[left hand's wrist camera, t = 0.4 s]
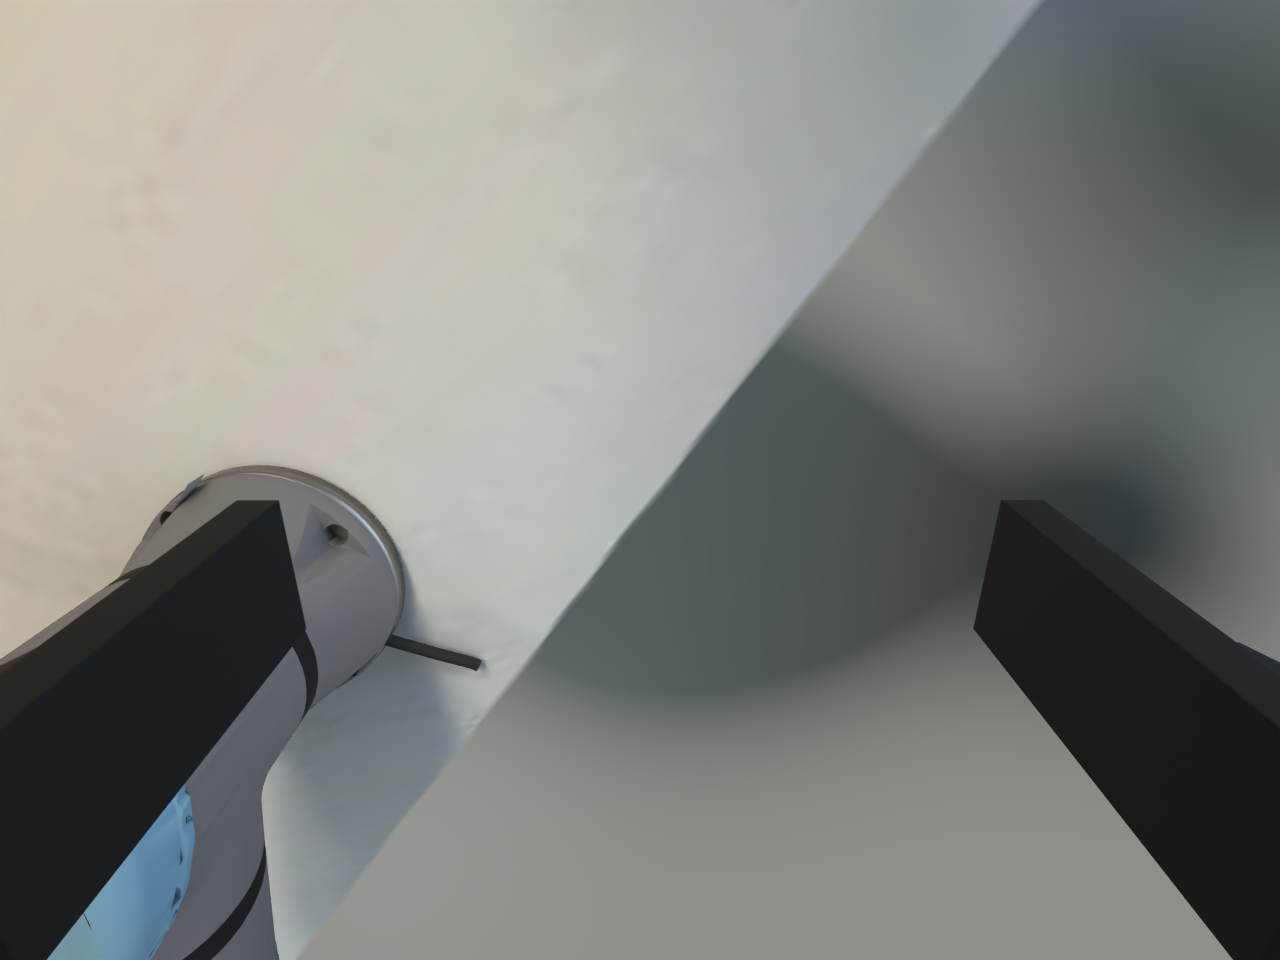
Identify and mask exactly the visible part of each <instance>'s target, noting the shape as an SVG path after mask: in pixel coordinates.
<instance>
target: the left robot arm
mask: <svg viewBox="0 0 1280 960" xmlns="http://www.w3.org/2000/svg"><path fill="white" fill-rule="evenodd" d="M306 629H307V628H306V624H305V619H304V614H303V610H302V605H301V600H300V596H299V591H298V587H297V582H296V577H295V573H294V568H293V563H292V559H291V554H290V549H289V545H288V540H287V535H286V531H285V526H284V522H283V517H282V512H281V508H280V503H279V500H236V501H235V502H234V503H232V504H231V505H230V506H228V507H227V508H225V509H224V510H223V511H221V512H220V513H219V514H217V515H216V516H215V517H213V518H212V519H211V520H209V521H208V522H206V523H205V524H204V525H202V526H201V527H200V528H198V529H197V530H196V531H194V532H193V533H192V534H190V535H189V536H187V537H186V538H185V539H183V540H182V541H181V542H179V543H178V544H177V545H175V546H174V547H173V548H171V549H170V550H168V551H167V552H166V553H164V554H163V555H162V556H160V557H159V558H158V559H156V560H155V561H154V562H152V563H151V564H149V565H148V566H147V567H145V568H144V569H143V570H141V571H140V572H139V573H137V574H136V575H134V576H133V577H132V578H130V579H129V580H128V581H126V582H125V583H124V584H122V585H121V586H120V587H118V588H117V589H115V590H114V591H113V592H111V593H110V594H109V595H107V596H106V597H105V598H103V599H102V600H101V601H99V602H98V603H96V604H95V605H94V606H92V607H91V608H90V609H88V610H87V611H86V612H84V613H83V614H82V615H80V616H79V617H77V618H76V619H75V620H73V621H72V622H71V623H69V624H68V625H67V626H65V627H64V628H63V629H61V630H60V631H58V632H57V633H56V634H54V635H53V636H52V637H50V638H49V639H48V640H46V641H45V642H43V643H42V644H41V645H39V646H38V647H37V648H35V649H33V650H31V651H29V652H27V653H25V654H23V655H21V656H19V657H17V658H15V659H13V660H11V661H9V662H6V663H4V664H2V665H0V960H47V959H48V958H49V956H50V955H51V954H52V953H53V951H54V950H55V949H56V947H57V946H58V945H59V944H60V942H61V941H62V940H63V939H64V937H65V936H66V935H67V933H68V932H69V931H70V930H71V928H72V927H73V926H74V924H75V923H76V922H77V921H78V919H79V918H80V917H81V916H82V914H83V913H84V912H85V910H86V909H87V908H88V907H89V905H90V904H91V903H92V902H93V900H94V899H95V898H96V896H97V895H98V894H99V893H100V891H101V890H102V889H103V887H104V886H105V885H106V884H107V882H108V881H109V880H110V879H111V877H112V876H113V875H114V873H115V872H116V871H117V870H118V868H119V867H120V866H121V865H122V863H123V862H124V861H125V859H126V858H127V857H128V856H129V854H130V853H131V852H132V851H133V849H134V848H135V847H136V845H137V844H138V843H139V842H140V840H141V839H142V838H143V836H144V835H145V834H146V833H147V831H148V830H149V829H150V828H151V826H152V825H153V824H154V822H155V821H156V820H157V819H158V817H159V816H160V815H161V814H162V812H163V811H164V810H165V808H166V807H167V806H168V805H169V803H170V802H171V801H172V799H173V798H174V797H175V796H176V794H177V793H178V792H179V791H180V789H181V788H182V787H183V785H184V784H185V783H186V782H187V780H188V779H189V778H190V777H191V775H192V774H193V773H194V771H195V770H196V769H197V768H198V766H199V765H200V764H201V763H202V761H203V760H204V759H205V757H206V756H207V755H208V754H209V752H210V751H211V750H212V748H213V747H214V746H215V745H216V743H217V742H218V741H219V740H220V738H221V737H222V736H223V734H224V733H225V732H226V731H227V729H228V728H229V727H230V726H231V724H232V723H233V722H234V720H235V719H236V718H237V717H238V715H239V714H240V713H241V711H242V710H243V709H244V708H245V706H246V705H247V704H248V703H249V701H250V700H251V699H252V697H253V696H254V695H255V694H256V692H257V691H258V690H259V689H260V687H261V686H262V685H263V683H264V682H265V681H266V680H267V678H268V677H269V676H270V675H271V673H272V672H273V671H274V669H275V668H276V667H277V666H278V664H279V663H280V662H281V660H282V659H283V658H284V657H285V655H286V654H287V653H288V652H289V650H290V649H291V648H292V646H293V645H294V644H295V643H296V641H297V640H298V639H299V638H300V636H301V635H302V634H303V632H304V631H305V630H306ZM974 630H975V631H976V632H977V634H978V635H979V636H980V637H981V639H982V640H983V641H984V643H985V644H986V645H987V646H988V648H989V649H990V650H991V652H992V653H993V654H994V655H995V657H996V658H997V659H998V660H999V662H1000V663H1001V664H1002V666H1003V667H1004V668H1005V669H1006V671H1007V672H1008V673H1009V675H1010V676H1011V677H1012V678H1013V680H1014V681H1015V682H1016V683H1017V685H1018V686H1019V687H1020V689H1021V690H1022V691H1023V692H1024V694H1025V695H1026V696H1027V697H1028V699H1029V700H1030V701H1031V703H1032V704H1033V705H1034V706H1035V708H1036V709H1037V710H1038V712H1039V713H1040V714H1041V715H1042V717H1043V718H1044V719H1045V720H1046V722H1047V723H1048V724H1049V725H1050V727H1051V728H1052V729H1053V731H1054V732H1055V733H1056V734H1057V736H1058V737H1059V738H1060V740H1061V741H1062V742H1063V743H1064V745H1065V746H1066V747H1067V748H1068V750H1069V751H1070V752H1071V754H1072V755H1073V756H1074V757H1075V759H1076V760H1077V761H1078V763H1079V764H1080V765H1081V766H1082V768H1083V769H1084V770H1085V771H1086V773H1087V774H1088V775H1089V777H1090V778H1091V779H1092V780H1093V782H1094V783H1095V784H1096V785H1097V787H1098V788H1099V789H1100V790H1101V792H1102V793H1103V794H1104V796H1105V797H1106V798H1107V799H1108V801H1109V802H1110V803H1111V805H1112V806H1113V807H1114V808H1115V810H1116V811H1117V812H1118V814H1119V815H1120V816H1121V817H1122V819H1123V820H1124V821H1125V822H1126V824H1127V825H1128V826H1129V828H1130V829H1131V830H1132V831H1133V833H1134V834H1135V835H1136V836H1137V838H1138V839H1139V840H1140V842H1141V843H1142V844H1143V845H1144V847H1145V848H1146V849H1147V851H1148V852H1149V853H1150V854H1151V856H1152V857H1153V858H1154V859H1155V861H1156V862H1157V863H1158V865H1159V866H1160V867H1161V868H1162V870H1163V871H1164V872H1165V873H1166V875H1167V876H1168V877H1169V879H1170V880H1171V881H1172V882H1173V884H1174V885H1175V886H1176V887H1177V889H1178V890H1179V891H1180V893H1181V894H1182V895H1183V896H1184V898H1185V899H1186V900H1187V902H1188V903H1189V904H1190V905H1191V907H1192V908H1193V909H1194V910H1195V912H1196V913H1197V914H1198V915H1199V917H1200V918H1201V919H1202V921H1203V922H1204V923H1205V924H1206V926H1207V927H1208V928H1209V930H1210V931H1211V932H1212V933H1213V935H1214V936H1215V937H1216V939H1217V940H1218V941H1219V942H1220V944H1221V945H1222V946H1223V947H1224V949H1225V950H1226V951H1227V953H1228V954H1229V955H1230V956H1231V958H1232V959H1233V960H1280V662H1278V661H1276V660H1274V659H1272V658H1269V657H1267V656H1265V655H1263V654H1261V653H1259V652H1257V651H1255V650H1253V649H1251V648H1249V647H1247V646H1245V645H1243V644H1241V643H1237V642H1235V641H1234V640H1232V639H1231V638H1230V637H1228V636H1227V635H1226V634H1224V633H1223V632H1221V631H1220V630H1219V629H1217V628H1216V627H1215V626H1213V625H1212V624H1211V623H1209V622H1208V621H1207V620H1205V619H1204V618H1202V617H1201V616H1200V615H1198V614H1197V613H1196V612H1194V611H1193V610H1192V609H1190V608H1189V607H1188V606H1186V605H1185V604H1184V603H1182V602H1181V601H1179V600H1178V599H1177V598H1175V597H1174V596H1173V595H1171V594H1170V593H1169V592H1167V591H1166V590H1165V589H1163V588H1162V587H1160V586H1159V585H1158V584H1156V583H1155V582H1154V581H1152V580H1151V579H1150V578H1148V577H1147V576H1146V575H1144V574H1143V573H1141V572H1140V571H1139V570H1137V569H1136V568H1135V567H1133V566H1132V565H1131V564H1129V563H1128V562H1126V561H1125V560H1124V559H1122V558H1121V557H1120V556H1118V555H1117V554H1116V553H1114V552H1113V551H1112V550H1110V549H1109V548H1107V547H1106V546H1105V545H1103V544H1102V543H1101V542H1099V541H1098V540H1097V539H1095V538H1094V537H1093V536H1091V535H1090V534H1088V533H1087V532H1086V531H1084V530H1083V529H1082V528H1080V527H1079V526H1078V525H1076V524H1075V523H1074V522H1072V521H1071V520H1069V519H1068V518H1067V517H1065V516H1064V515H1063V514H1061V513H1060V512H1059V511H1057V510H1056V509H1054V508H1053V507H1052V506H1050V505H1049V504H1048V503H1046V502H1045V501H1044V500H1001V503H1000V508H999V512H998V517H997V522H996V526H995V531H994V535H993V540H992V545H991V549H990V554H989V559H988V563H987V568H986V573H985V577H984V582H983V587H982V591H981V596H980V600H979V605H978V610H977V614H976V619H975V624H974Z"/></svg>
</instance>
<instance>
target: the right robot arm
mask: <svg viewBox="0 0 1280 960" xmlns="http://www.w3.org/2000/svg"><path fill="white" fill-rule="evenodd" d="M203 475H204V474H203ZM203 475H202V476H200V477H199V478H197V479H196V480H194V481H192V482H191V483H189V484H188V485H187V487H186V489H185V490H184V491H183V492H181V493H180V494H178V495H177V496H176V497H175V498H174V499H173V500H171V501H170V502H169V503H168V505H167V506H165V507H164V508H163V509H162V510H161V511H160V513H159V514H158V515H157V516H156V517H155V518H154V520H153V521H152V523H151V525H150V526H149V528H148V530H147V531H146V533H145V535H144V537H143V540H142V541H141V543H140V544H139V545H138V547H137V548H136V550H135V551H134V553H133V554H132V556H131V558H130V560H129V561H128V563H127V565H126V566H125V568H124V570H123V571H122V573H121V575H120V576H119V578H118V579H116V580H115V581H113V582H112V583H111V584H109V585H108V586H106V587H105V588H104V589H102V590H101V591H99V592H98V593H96V594H95V595H93V596H92V597H90V598H89V599H87V600H86V601H84V602H83V603H82V604H80V605H79V606H77V607H76V608H74V609H73V610H71V611H70V612H68V613H67V614H66V615H64V616H63V617H61V618H60V619H58V620H57V621H55V622H54V623H52V624H51V625H50V626H48V627H47V628H45V629H44V630H42V631H41V632H39V633H38V634H36V635H35V636H34V637H32V638H31V639H29V640H28V641H26V642H25V643H23V644H22V645H21V646H19V647H18V648H16V649H15V650H13V651H12V652H10V653H9V654H7V655H6V656H5V657H3V658H2V659H0V665H2V664H4V663H6V662H9V661H11V660H13V659H15V658H17V657H19V656H21V655H23V654H25V653H27V652H29V651H31V650H33V649H35V648H37V647H38V646H39V645H41V644H42V643H43V642H45V641H46V640H48V639H49V638H50V637H52V636H53V635H54V634H56V633H57V632H58V631H60V630H61V629H63V628H64V627H65V626H67V625H68V624H69V623H71V622H72V621H73V620H75V619H76V618H77V617H79V616H80V615H82V614H83V613H84V612H86V611H87V610H88V609H90V608H91V607H92V606H94V605H95V604H96V603H98V602H99V601H101V600H102V599H103V598H105V597H106V596H107V595H109V594H110V593H111V592H113V591H114V590H115V589H117V588H118V587H120V586H121V585H122V584H124V583H125V582H126V581H128V580H129V579H130V578H132V577H133V576H134V575H136V574H137V573H139V572H140V571H141V570H143V569H144V568H145V567H147V566H148V565H149V564H151V563H152V562H154V561H155V560H156V559H158V558H159V557H160V556H162V555H163V554H164V553H166V552H167V551H168V550H170V549H171V548H173V547H174V546H175V545H177V544H178V543H179V542H181V541H182V540H183V539H185V538H186V537H187V536H189V535H190V534H192V533H193V532H194V531H196V530H197V529H198V528H200V527H201V526H202V525H204V524H205V523H206V522H208V521H209V520H211V519H212V518H213V517H215V516H216V515H217V514H219V513H220V512H221V511H223V510H224V509H225V508H227V507H228V506H230V505H231V504H232V503H234V502H235V501H236V500H279V503H280V508H281V512H282V517H283V522H284V526H285V531H286V535H287V540H288V545H289V549H290V554H291V559H292V563H293V568H294V573H295V577H296V582H297V587H298V591H299V596H300V600H301V605H302V610H303V614H304V619H305V624H306V628H307V629H306V630H305V631H304V632H303V634H302V635H301V636H300V638H299V639H298V640H297V641H296V643H295V644H294V645H293V646H292V648H291V649H290V650H289V652H288V653H287V654H286V655H285V657H284V658H283V659H282V660H281V662H280V663H279V664H278V666H277V667H276V668H275V669H274V671H273V672H272V673H271V675H270V676H269V677H268V678H267V680H266V681H265V682H264V683H263V685H262V686H261V687H260V689H259V690H258V691H257V692H256V694H255V695H254V696H253V697H252V699H251V700H250V701H249V703H248V704H247V705H246V706H245V708H244V709H243V710H242V711H241V713H240V714H239V715H238V717H237V718H236V719H235V720H234V722H233V723H232V724H231V726H230V727H229V728H228V729H227V731H226V732H225V733H224V734H223V736H222V737H221V738H220V740H219V741H218V742H217V743H216V745H215V746H214V747H213V748H212V750H211V751H210V752H209V754H208V755H207V756H206V757H205V759H204V760H203V761H202V763H201V764H200V765H199V766H198V768H197V769H196V770H195V771H194V773H193V774H192V775H191V777H190V778H189V779H188V780H187V782H186V783H185V784H184V785H183V787H182V788H181V789H180V791H179V792H178V793H177V794H176V796H175V797H174V798H173V799H172V801H171V802H170V803H169V805H168V806H167V807H166V808H165V810H164V811H163V812H162V814H161V815H160V816H159V817H158V819H157V820H156V821H155V822H154V824H153V825H152V826H151V828H150V829H149V830H148V831H147V833H146V834H145V835H144V836H143V838H142V839H141V840H140V842H139V843H138V844H137V845H136V847H135V848H134V849H133V851H132V852H131V853H130V854H129V856H128V857H127V858H126V859H125V861H124V862H123V863H122V865H121V866H120V867H119V868H118V870H117V871H116V872H115V873H114V875H113V876H112V877H111V879H110V880H109V881H108V882H107V884H106V885H105V886H104V887H103V889H102V890H101V891H100V893H99V894H98V895H97V896H96V898H95V899H94V900H93V902H92V903H91V904H90V905H89V907H88V908H87V909H86V910H85V912H84V913H83V914H82V916H81V917H80V918H79V919H78V921H77V922H76V923H75V924H74V926H73V927H72V928H71V930H70V931H69V932H68V933H67V935H66V936H65V937H64V939H63V940H62V941H61V942H60V944H59V945H58V946H57V947H56V949H55V950H54V951H53V953H52V954H51V955H50V956H49V958H48V959H47V960H279V954H278V952H277V945H276V941H275V934H274V924H273V915H272V905H271V896H270V886H269V877H268V867H267V858H266V848H265V839H264V827H263V815H262V803H261V795H262V789H263V785H264V782H265V779H266V776H267V774H268V771H269V770H270V768H271V767H272V765H273V764H274V762H275V761H276V759H277V758H278V756H279V755H280V753H281V751H282V750H283V748H284V747H285V745H286V744H287V742H288V741H289V739H290V738H291V736H292V735H293V733H294V732H295V730H296V728H297V727H298V725H299V724H300V722H301V721H302V719H303V718H304V716H305V715H306V713H307V711H308V710H309V709H310V708H312V707H313V706H314V705H316V704H317V703H318V702H319V701H320V700H321V699H323V698H324V697H325V696H327V695H328V694H329V693H330V692H332V691H333V690H334V689H336V688H338V687H340V686H342V685H344V684H345V683H347V682H349V681H350V680H352V679H353V678H355V677H356V676H358V675H359V674H360V673H361V672H363V671H364V670H365V669H366V668H367V667H368V666H369V665H370V664H371V663H372V662H373V661H374V660H375V659H376V657H377V656H378V655H379V654H380V653H381V652H382V650H383V649H384V647H385V646H390V647H393V648H397V649H400V650H403V651H407V652H410V653H414V654H417V655H421V656H425V657H428V658H432V659H436V660H440V661H443V662H447V663H451V664H455V665H459V666H463V667H467V668H470V669H473V670H475V671H477V670H478V668H479V666H480V664H481V660H479V659H476V658H473V657H470V656H467V655H463V654H459V653H455V652H451V651H448V650H444V649H440V648H436V647H433V646H429V645H426V644H422V643H419V642H415V641H412V640H408V639H405V638H402V637H398V636H395V635H392V634H393V632H394V630H395V629H396V627H397V625H398V622H399V620H400V617H401V613H402V610H403V604H404V593H405V586H404V577H403V572H402V567H401V564H400V561H399V558H398V555H397V553H396V551H395V548H394V546H393V544H392V542H391V541H390V539H389V537H388V535H387V534H386V532H385V531H384V530H383V528H382V527H381V525H380V524H379V523H378V522H377V521H376V519H375V518H374V517H373V516H372V515H371V514H370V513H369V512H368V511H367V510H366V509H365V508H364V507H363V506H362V505H361V504H360V503H358V502H357V501H356V500H355V499H354V498H352V497H351V496H349V495H348V494H347V493H345V492H344V491H342V490H340V489H339V488H337V487H335V486H334V485H332V484H330V483H328V482H326V481H324V480H322V479H320V478H317V477H315V476H312V475H310V474H307V473H303V472H300V471H297V470H293V469H288V468H283V467H275V466H260V465H255V466H242V467H236V468H231V469H227V470H223V471H220V472H217V473H215V474H212V475H210V476H208V477H206V478H204V479H202V477H203ZM201 479H202V480H201Z"/></svg>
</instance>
